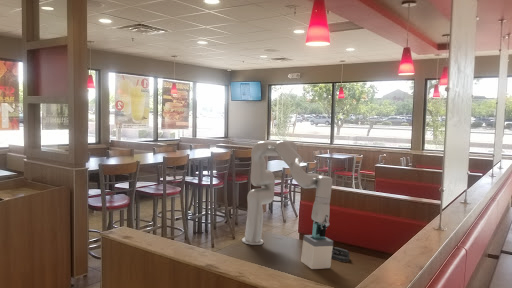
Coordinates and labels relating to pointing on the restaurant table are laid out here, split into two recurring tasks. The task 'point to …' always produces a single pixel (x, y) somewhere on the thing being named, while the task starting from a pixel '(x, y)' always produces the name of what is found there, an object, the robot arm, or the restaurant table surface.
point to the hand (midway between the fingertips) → (318, 234)
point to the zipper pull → (340, 254)
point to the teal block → (316, 231)
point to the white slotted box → (316, 252)
